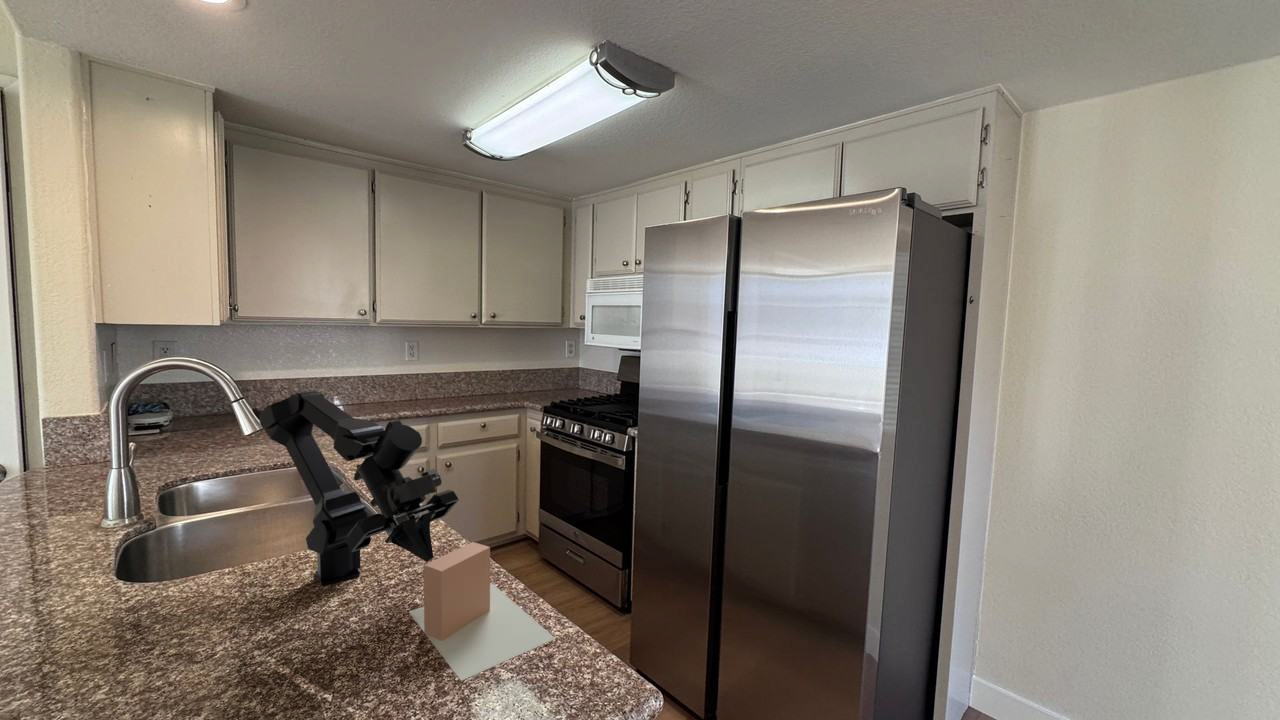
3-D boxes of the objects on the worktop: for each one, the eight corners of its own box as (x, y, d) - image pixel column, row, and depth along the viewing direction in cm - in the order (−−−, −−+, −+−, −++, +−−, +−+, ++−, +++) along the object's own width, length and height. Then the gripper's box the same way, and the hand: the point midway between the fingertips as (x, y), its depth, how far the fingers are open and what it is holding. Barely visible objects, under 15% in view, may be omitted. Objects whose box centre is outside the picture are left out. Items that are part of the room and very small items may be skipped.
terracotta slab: (424, 633, 81) (423, 565, 80) (473, 603, 90) (472, 541, 89) (442, 641, 79) (441, 571, 78) (490, 610, 88) (490, 547, 87)
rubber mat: (461, 684, 71) (461, 680, 71) (408, 614, 87) (408, 611, 87) (555, 641, 81) (555, 638, 80) (492, 586, 97) (492, 583, 97)
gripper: (355, 470, 80) (403, 556, 76) (451, 446, 97) (495, 516, 92) (327, 510, 85) (370, 593, 80) (423, 481, 101) (464, 549, 97)
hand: (430, 559), depth 87 cm, fingers closed
